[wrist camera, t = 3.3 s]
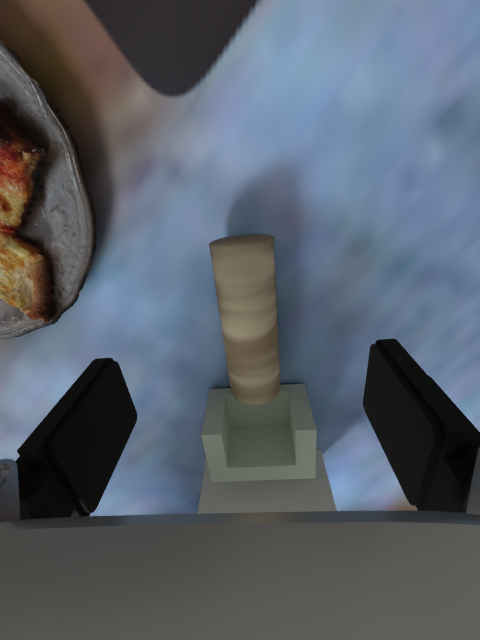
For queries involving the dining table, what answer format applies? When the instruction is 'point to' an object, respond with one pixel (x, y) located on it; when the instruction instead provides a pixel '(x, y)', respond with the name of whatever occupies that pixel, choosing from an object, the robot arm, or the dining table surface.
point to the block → (260, 437)
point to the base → (268, 494)
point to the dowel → (248, 314)
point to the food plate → (39, 207)
